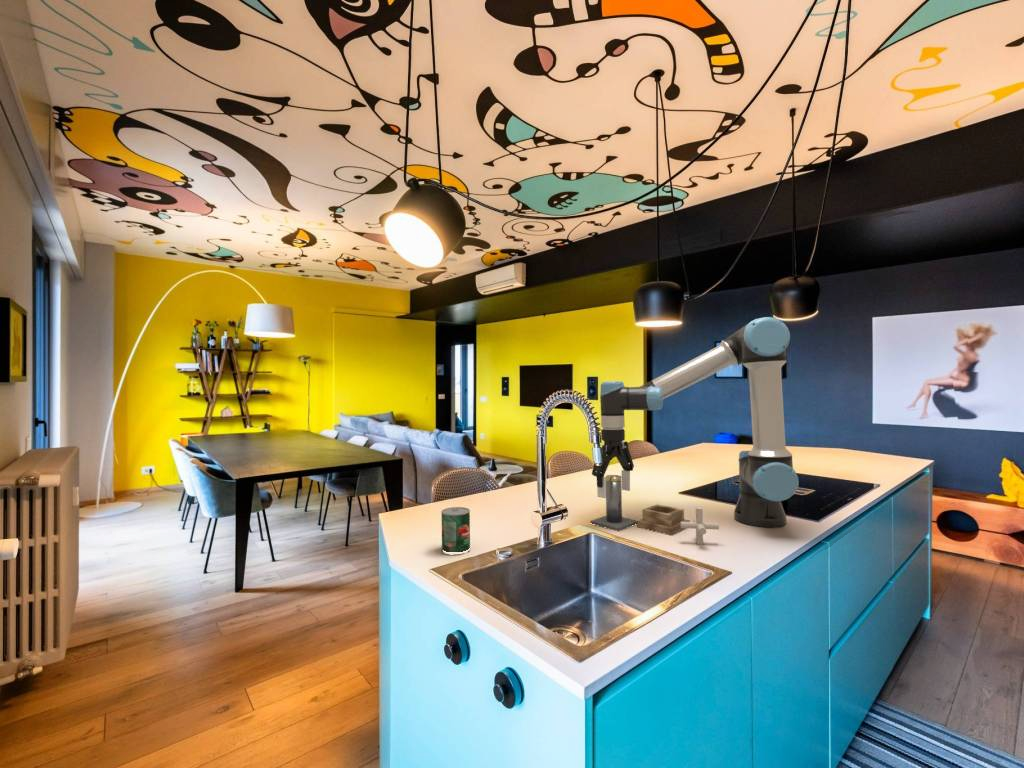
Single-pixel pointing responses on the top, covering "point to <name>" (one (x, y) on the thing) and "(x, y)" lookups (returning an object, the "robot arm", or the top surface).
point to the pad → (614, 526)
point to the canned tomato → (455, 529)
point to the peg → (613, 499)
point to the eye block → (662, 519)
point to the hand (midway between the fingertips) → (614, 493)
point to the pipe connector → (699, 525)
